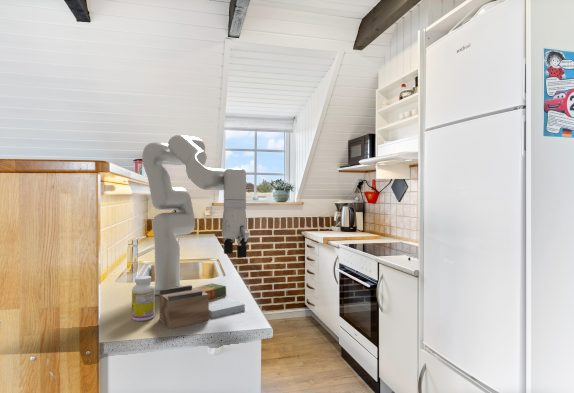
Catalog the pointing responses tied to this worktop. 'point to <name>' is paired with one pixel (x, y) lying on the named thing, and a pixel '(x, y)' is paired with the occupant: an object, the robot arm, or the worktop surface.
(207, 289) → the carton
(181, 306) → the slot box
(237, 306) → the cover plate
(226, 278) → the worktop surface
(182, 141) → the robot arm
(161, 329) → the worktop surface
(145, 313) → the supplement bottle
